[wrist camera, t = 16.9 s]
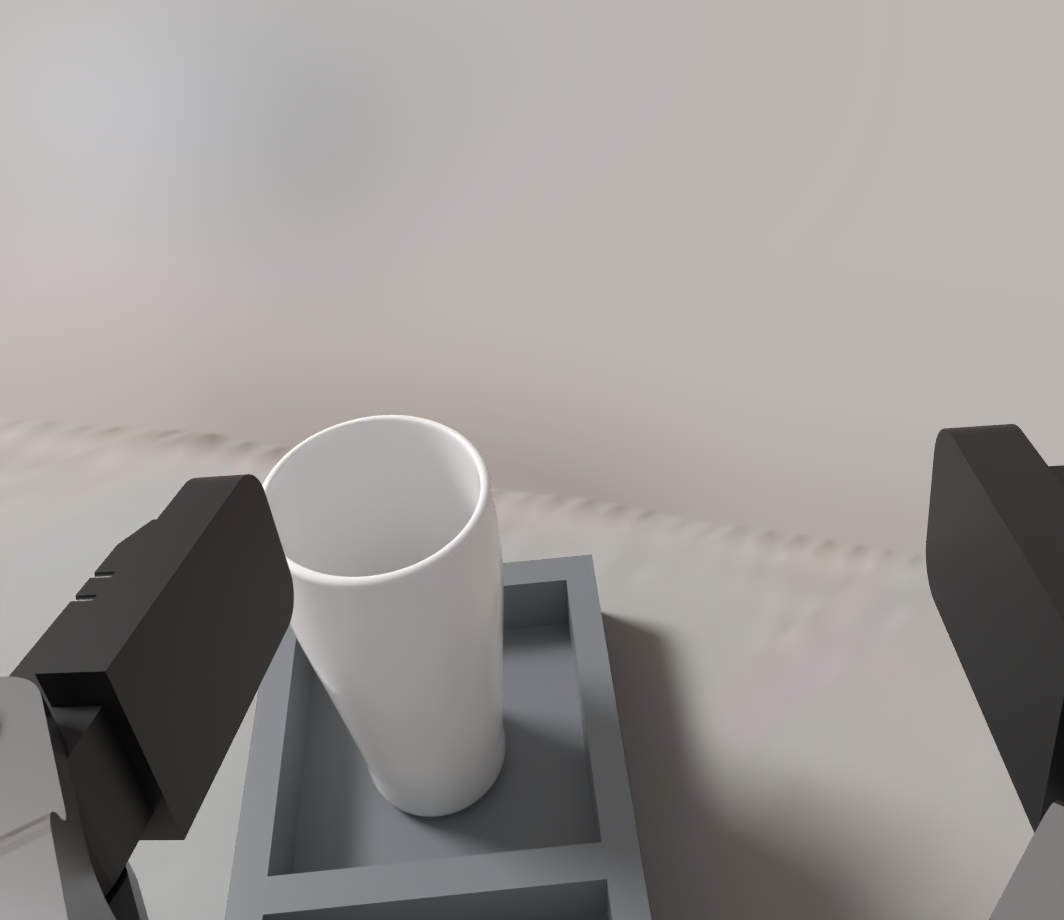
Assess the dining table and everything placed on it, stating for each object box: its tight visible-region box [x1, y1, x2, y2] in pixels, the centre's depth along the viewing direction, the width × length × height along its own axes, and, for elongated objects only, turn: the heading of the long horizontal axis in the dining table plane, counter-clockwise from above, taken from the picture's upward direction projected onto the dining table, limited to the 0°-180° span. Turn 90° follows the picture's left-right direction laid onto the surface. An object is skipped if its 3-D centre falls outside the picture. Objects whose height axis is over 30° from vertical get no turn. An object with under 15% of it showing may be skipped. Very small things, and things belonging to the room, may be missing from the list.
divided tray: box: [225, 555, 651, 920], centre depth 32 cm, size 13×26×4 cm, turn 5°
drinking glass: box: [262, 415, 506, 817], centre depth 31 cm, size 7×7×15 cm
